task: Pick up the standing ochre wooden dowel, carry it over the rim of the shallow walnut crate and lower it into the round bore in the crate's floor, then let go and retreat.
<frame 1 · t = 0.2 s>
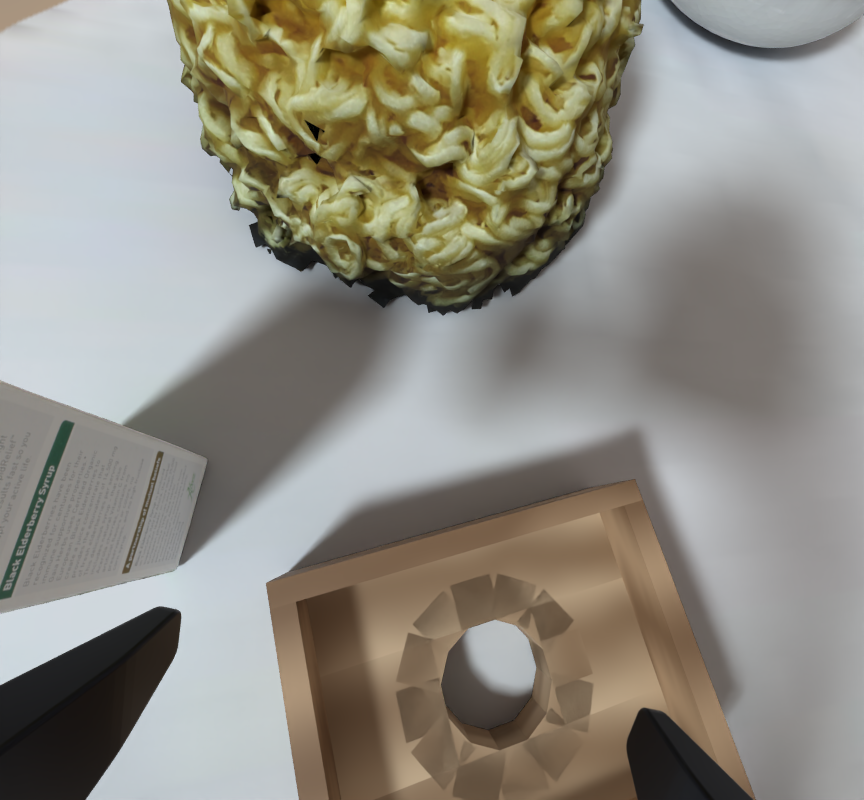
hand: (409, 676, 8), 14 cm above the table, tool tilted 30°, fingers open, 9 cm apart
ramen: (412, 166, 30), on the table
crate: (486, 668, 21), on the table
serving bowl: (721, 5, 40), on the table
syrup box: (139, 506, 22), on the table
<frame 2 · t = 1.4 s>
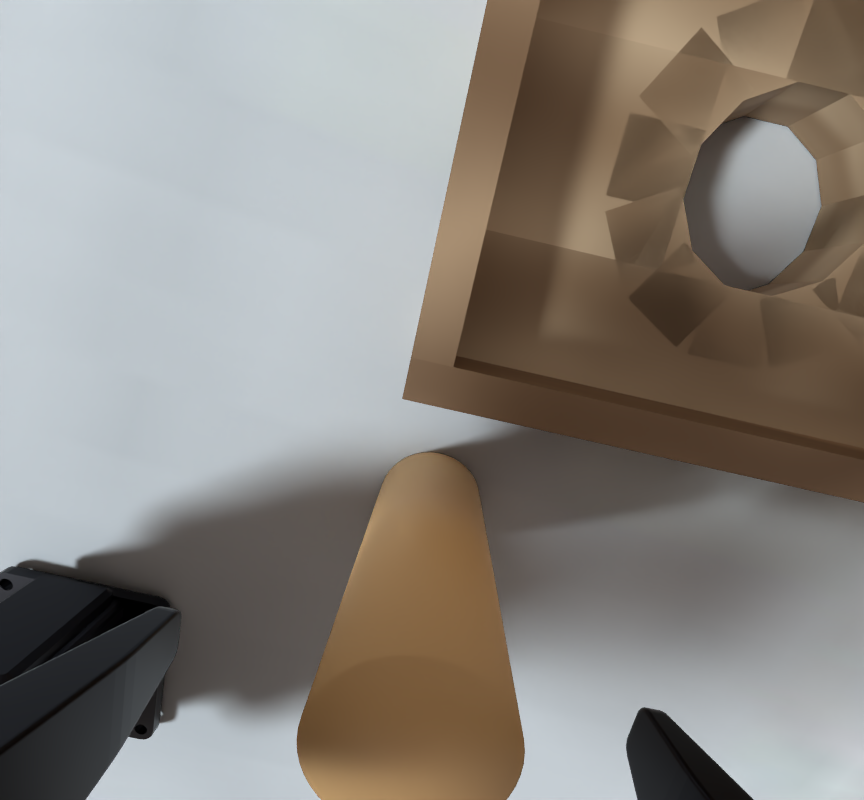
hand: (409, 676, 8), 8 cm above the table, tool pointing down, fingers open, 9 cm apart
peg: (429, 499, 16), on the table
crate: (734, 210, 13), on the table
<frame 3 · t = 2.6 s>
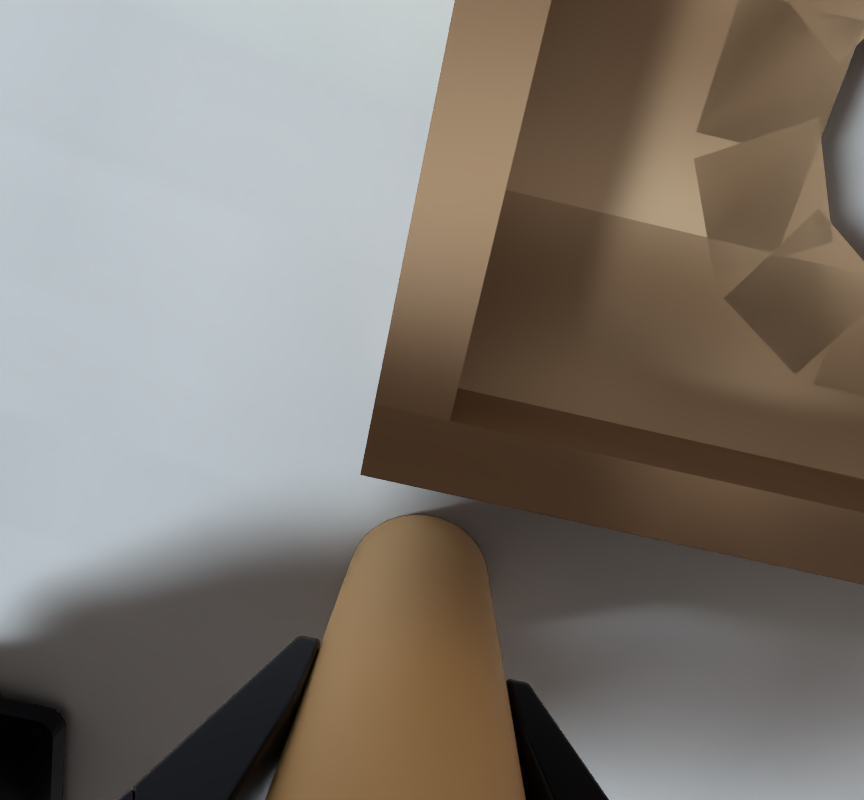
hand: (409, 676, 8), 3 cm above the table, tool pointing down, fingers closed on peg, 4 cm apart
peg: (418, 578, 11), on the table, touching gripper
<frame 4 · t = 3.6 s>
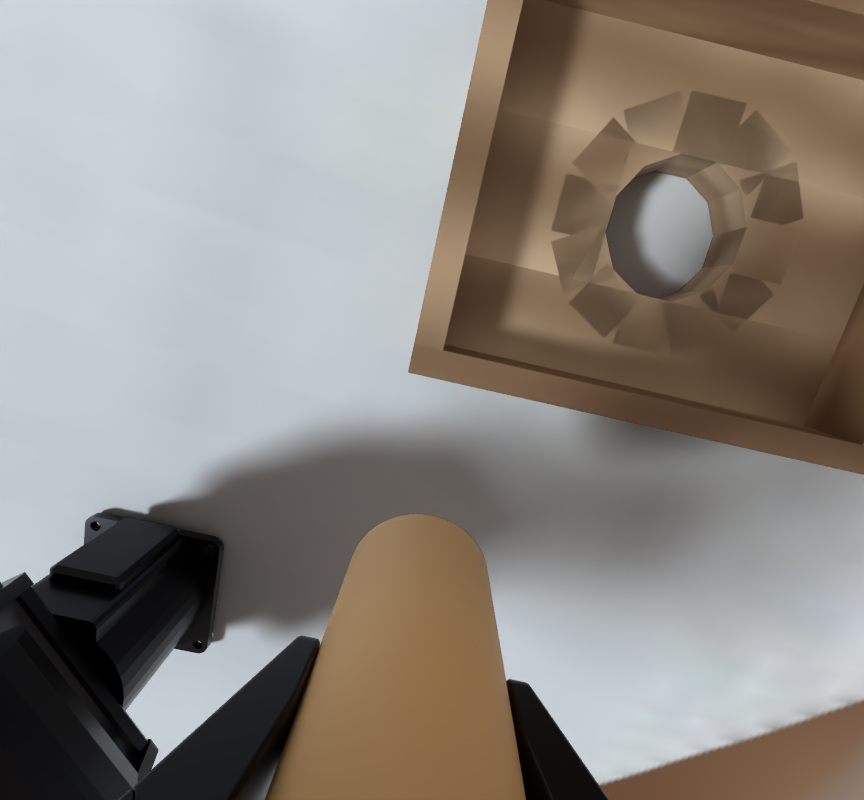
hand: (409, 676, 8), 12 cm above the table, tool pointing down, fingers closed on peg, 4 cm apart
peg: (418, 577, 11), point 9 cm above the table, touching gripper
crate: (650, 238, 18), on the table
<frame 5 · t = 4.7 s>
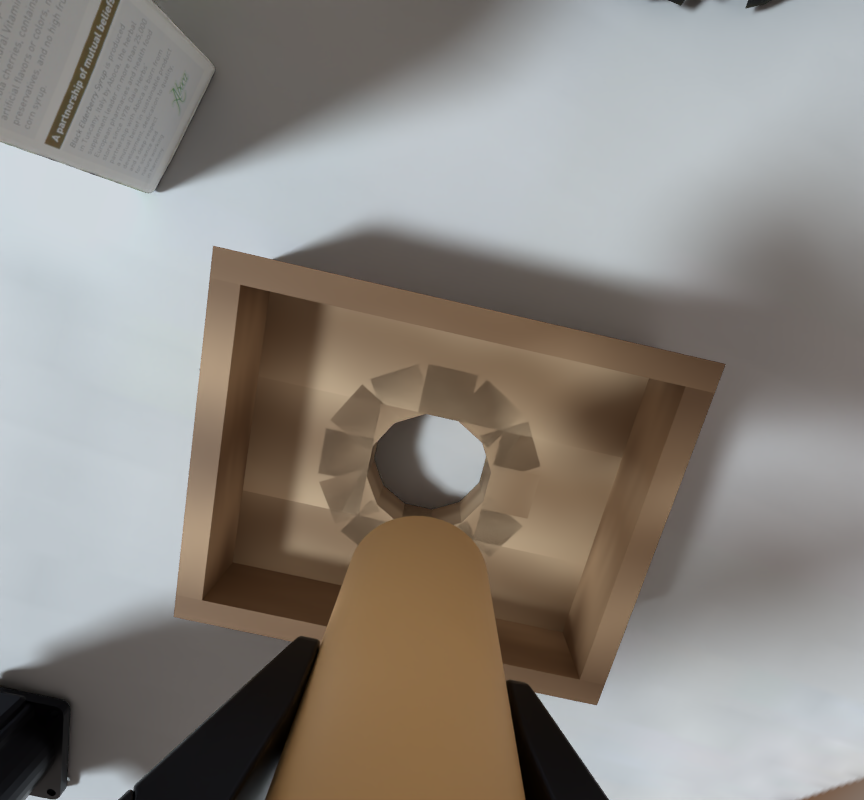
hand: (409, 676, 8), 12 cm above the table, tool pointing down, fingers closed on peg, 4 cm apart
peg: (417, 579, 11), point 9 cm above the table, touching gripper
crate: (429, 457, 20), on the table
syrup box: (127, 94, 17), on the table
when the fingers open (4 cm above the table, at t = 6.0 s): peg drops 1 cm, resting in crate.
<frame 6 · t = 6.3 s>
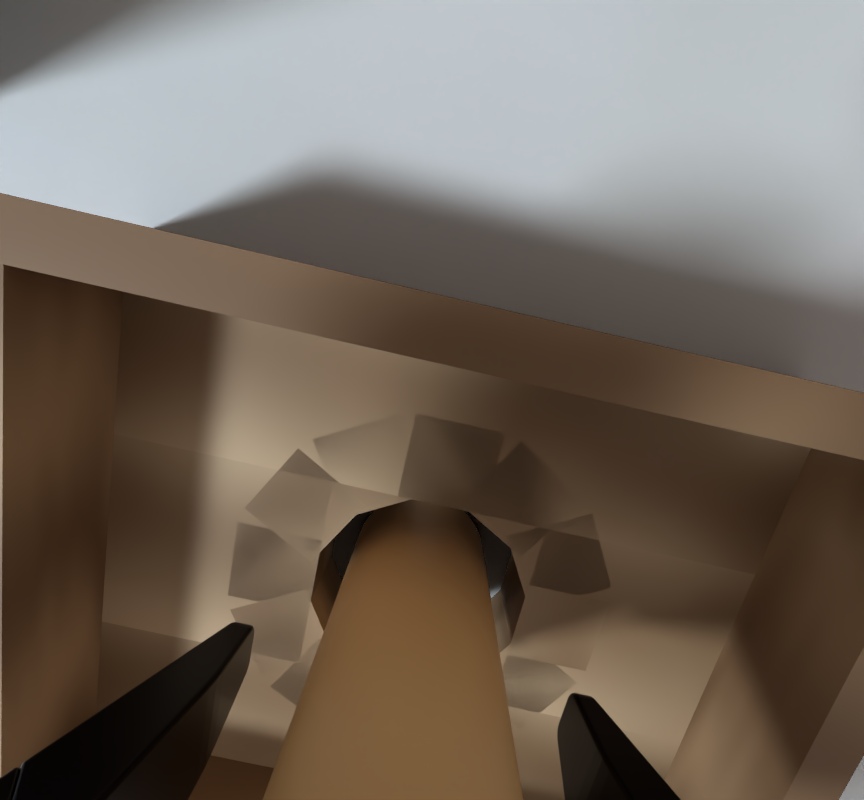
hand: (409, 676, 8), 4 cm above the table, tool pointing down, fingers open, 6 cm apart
peg: (419, 552, 12), resting in crate
crate: (421, 552, 12), on the table
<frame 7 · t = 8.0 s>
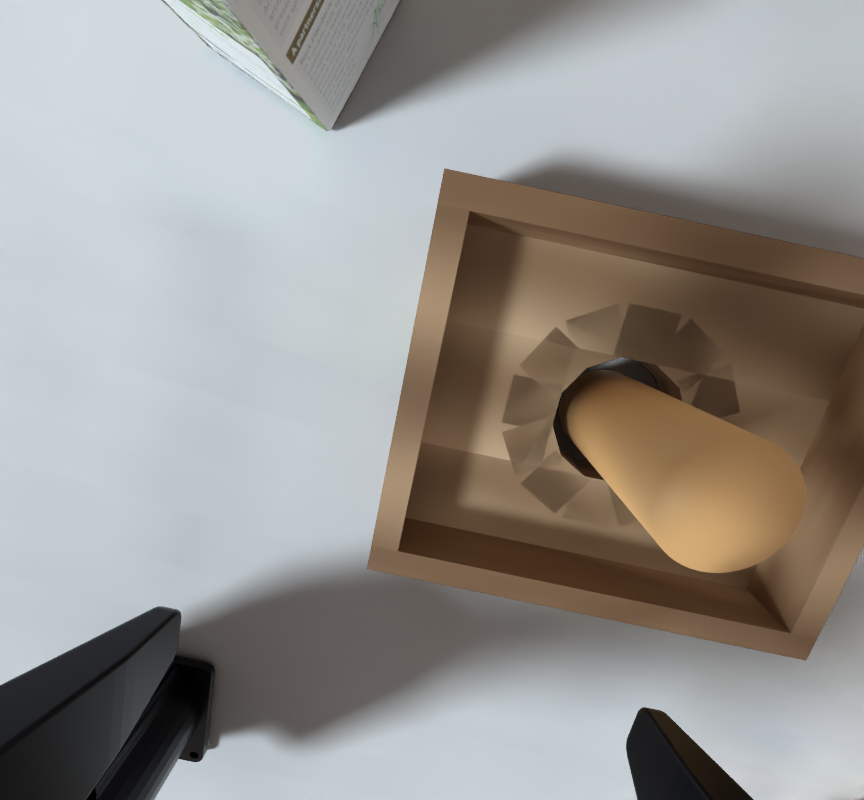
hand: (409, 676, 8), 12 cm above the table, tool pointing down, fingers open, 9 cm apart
peg: (600, 409, 19), resting in crate
crate: (601, 409, 19), on the table
syrup box: (305, 25, 16), on the table
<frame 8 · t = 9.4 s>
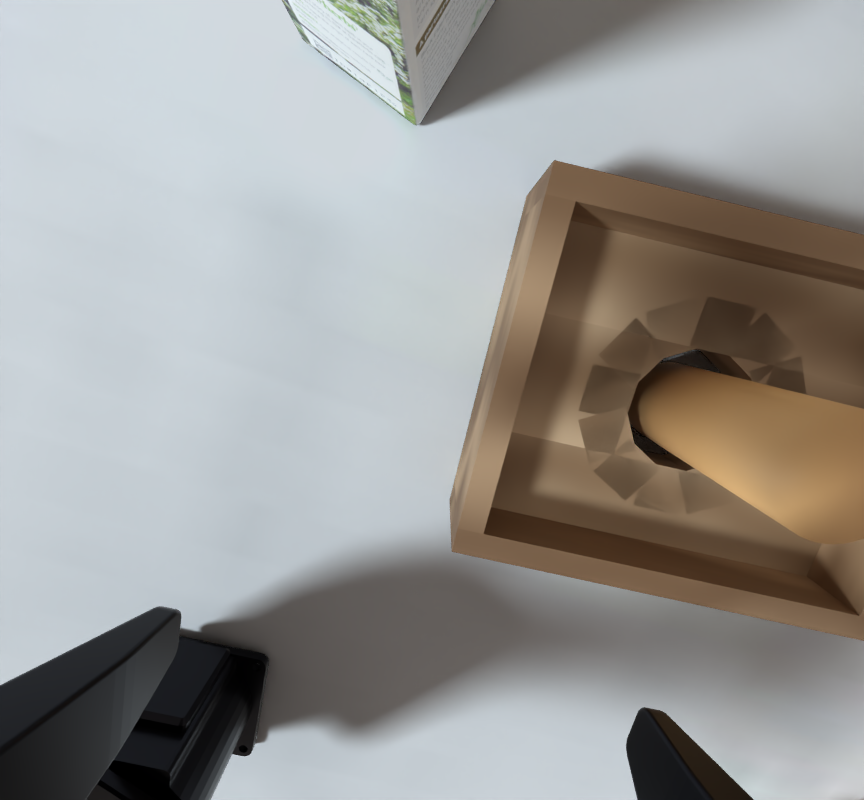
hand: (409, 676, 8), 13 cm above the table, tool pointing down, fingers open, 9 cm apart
peg: (665, 401, 20), resting in crate
crate: (666, 401, 20), on the table
syrup box: (398, 24, 17), on the table
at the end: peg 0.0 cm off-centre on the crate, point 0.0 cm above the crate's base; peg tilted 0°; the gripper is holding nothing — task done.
